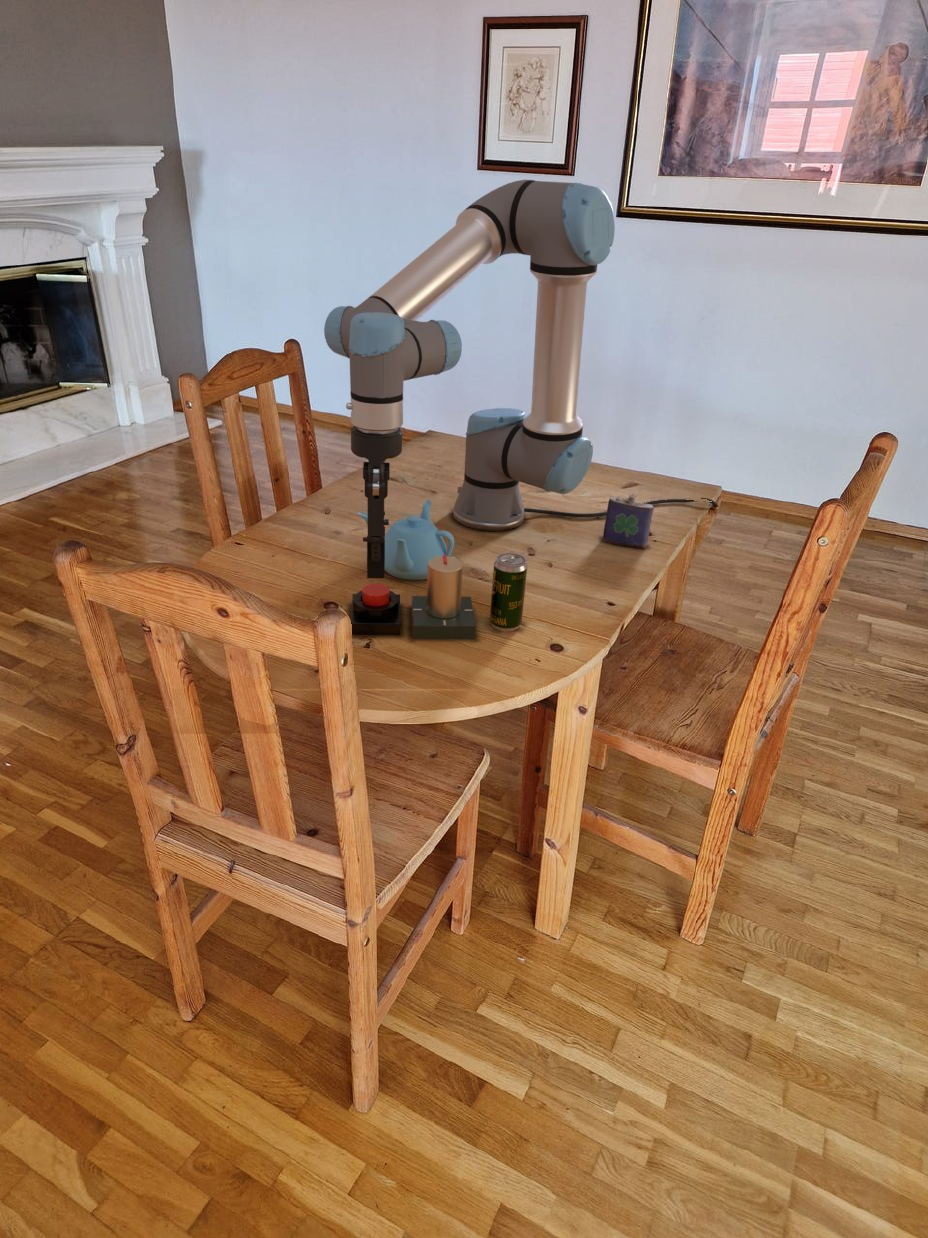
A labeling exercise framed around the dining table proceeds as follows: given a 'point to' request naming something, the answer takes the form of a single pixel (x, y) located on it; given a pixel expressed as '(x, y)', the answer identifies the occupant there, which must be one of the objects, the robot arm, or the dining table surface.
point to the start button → (375, 594)
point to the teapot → (413, 545)
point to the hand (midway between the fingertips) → (376, 570)
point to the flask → (628, 522)
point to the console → (442, 622)
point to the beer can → (508, 591)
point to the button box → (375, 616)
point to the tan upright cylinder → (444, 587)
